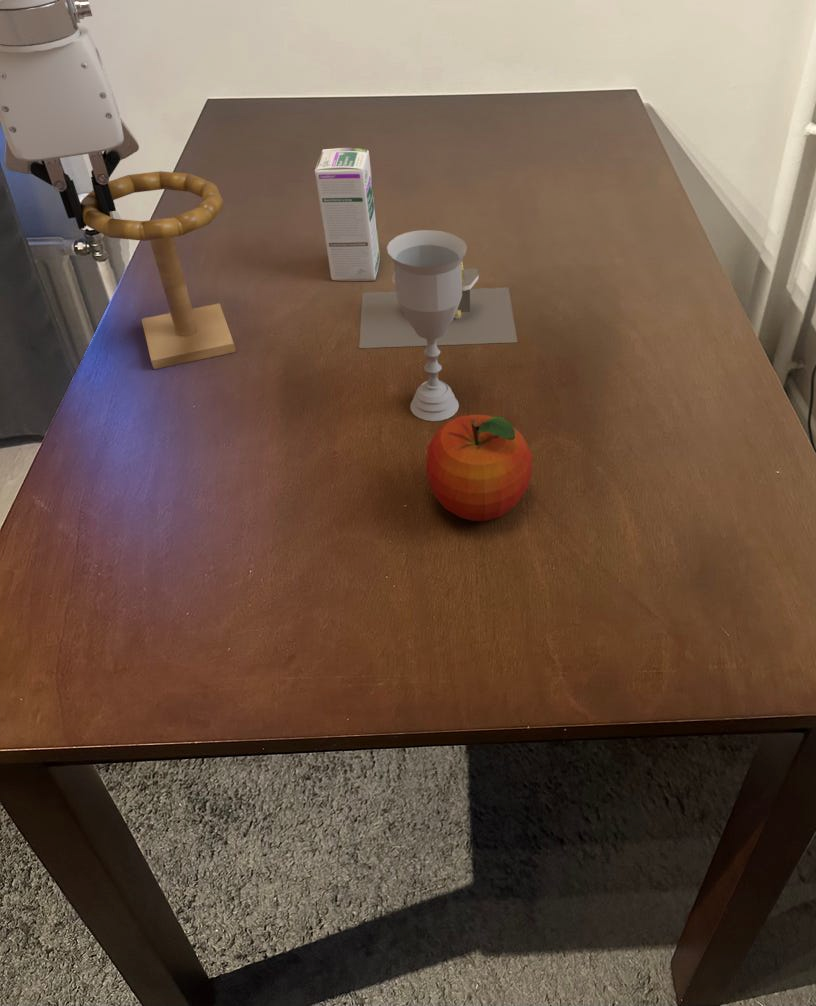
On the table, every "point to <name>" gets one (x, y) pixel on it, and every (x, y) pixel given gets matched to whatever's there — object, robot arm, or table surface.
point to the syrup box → (348, 213)
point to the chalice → (429, 305)
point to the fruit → (478, 466)
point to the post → (182, 318)
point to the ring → (159, 226)
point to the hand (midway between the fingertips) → (94, 219)
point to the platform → (474, 323)
